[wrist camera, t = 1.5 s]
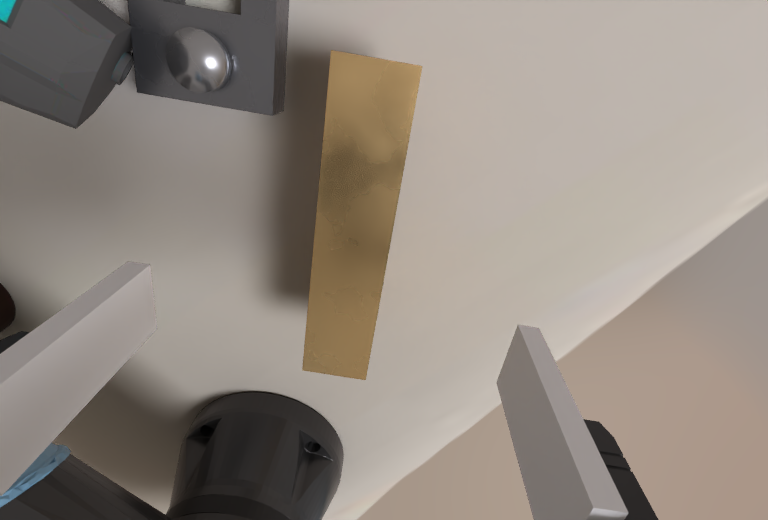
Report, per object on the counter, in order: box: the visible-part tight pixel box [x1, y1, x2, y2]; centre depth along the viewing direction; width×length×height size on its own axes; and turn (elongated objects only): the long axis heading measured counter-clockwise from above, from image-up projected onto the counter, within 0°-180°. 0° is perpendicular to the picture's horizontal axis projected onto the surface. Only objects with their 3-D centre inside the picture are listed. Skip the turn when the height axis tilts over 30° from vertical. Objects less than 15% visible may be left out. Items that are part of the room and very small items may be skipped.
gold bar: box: [302, 50, 422, 380], centre depth 25 cm, size 18×4×8 cm, turn 171°
